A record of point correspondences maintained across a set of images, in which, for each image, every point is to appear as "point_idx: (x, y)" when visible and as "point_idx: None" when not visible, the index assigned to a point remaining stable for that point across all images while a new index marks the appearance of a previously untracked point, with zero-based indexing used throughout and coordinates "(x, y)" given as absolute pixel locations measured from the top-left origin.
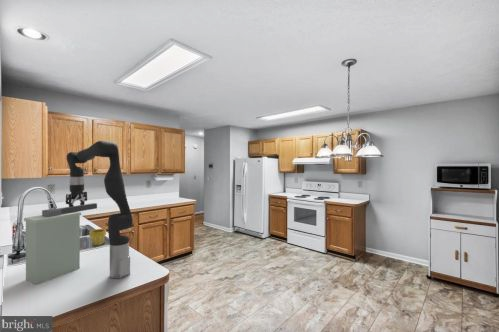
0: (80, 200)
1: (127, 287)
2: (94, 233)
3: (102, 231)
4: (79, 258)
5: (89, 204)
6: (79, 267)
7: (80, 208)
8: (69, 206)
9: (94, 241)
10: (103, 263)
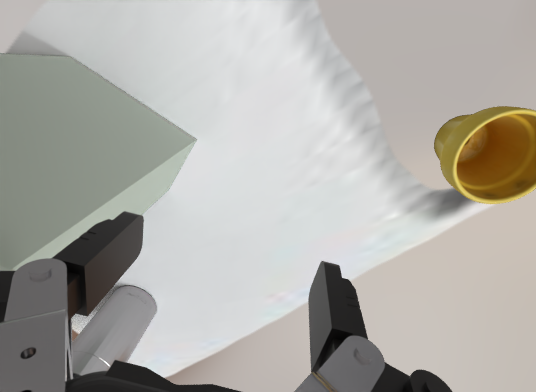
0: (326, 373)
1: (80, 329)
2: (452, 157)
3: (533, 167)
4: (152, 204)
5: None
6: (167, 190)
7: None
8: (66, 256)
9: (441, 138)
10: (207, 245)
